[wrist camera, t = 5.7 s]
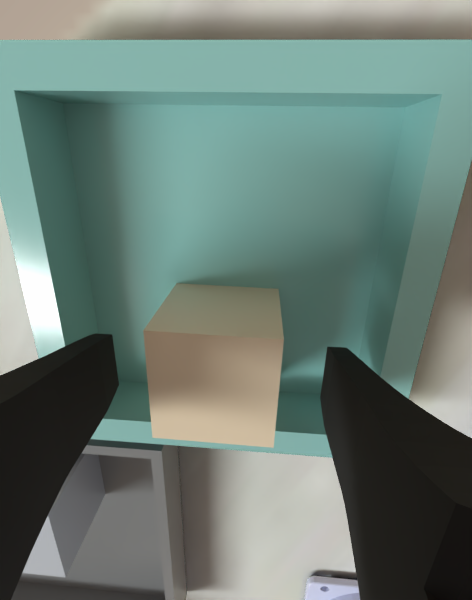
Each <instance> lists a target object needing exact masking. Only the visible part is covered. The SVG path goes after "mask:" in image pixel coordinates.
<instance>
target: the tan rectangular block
mask: <svg viewBox="0 0 472 600" xmlns="http://www.w3.org/2000/svg"><path fill="white" fill-rule="evenodd" d="M143 333H144V345H145V357H146V369H147V380H148V392H149V404H150V415H151V427H152V438H162V439H174V440H186V441H198V442H210V443H223V444H235V445H247V446H259V447H271V448H274V438H275V428H276V417H277V407H278V396H279V386H280V375H281V365H282V354H283V344H284V336H283V326H282V317H281V307H280V297H279V289H273V288H255V287H237V286H218V285H200V284H182V283H176V285H175V286H174V288H173V289H172V290H171V292H170V293H169V295H168V296H167V298H166V299H165V300H164V302H163V303H162V305H161V306H160V307H159V309H158V310H157V312H156V313H155V315H154V316H153V317H152V319H151V320H150V322H149V323H148V324H147V326H146V327H145V329H144V330H143Z"/></svg>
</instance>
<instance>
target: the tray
mask: <svg viewBox="0 0 472 600" xmlns="http://www.w3.org/2000/svg"><path fill="white" fill-rule="evenodd" d="M82 454H94V455H98V456H99V461H100V467H101V472H102V478H103V483H104V489H105V496H104V498H103V500H102V502H101V504H100V506H99V509H98V511H97V513H96V515H95V517H94V519H93V521H92V523H91V525H90V528H89V530H88V532H87V534H86V536H85V538H84V540H83V542H82V544H81V546H80V549H79V551H78V553H77V555H76V557H75V559H74V561H73V563H72V565H71V568H70V570H69V572H68V574H67V576H66V577H56V576H47V575H37V574H27V573H22V575H21V577H20V579H19V582H18V584H17V587H16V589H15V591H14V594H13V596H12V599H11V600H186V595H187V586H186V569H185V553H184V536H183V520H182V503H181V487H180V470H179V454H178V446H175V445H162V444H149V443H136V442H123V441H110V440H97V439H90V440H89V442H88V444H87V445H86V447H85V448H84V450H83V452H82Z"/></svg>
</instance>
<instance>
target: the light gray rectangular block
mask: <svg viewBox="0 0 472 600" xmlns="http://www.w3.org/2000/svg"><path fill="white" fill-rule="evenodd" d="M104 496H105V489H104V483H103V478H102V472H101V467H100V461H99V456H98V455H94V454H82V453H81V455H80V456H79V458H78V460H77V461H76V463H75V464H74V466H73V468H72V469H71V471H70V473H69V475H68V476H67V478H66V480H65V482H64V484H63V486H62V488H61V490H60V492H59V494H58V496H57V498H56V500H55V502H54V504H53V506H52V508H51V510H50V512H49V514H48V516H47V519H46V521H45V523H44V525H43V527H42V529H41V532H40V534H39V536H38V538H37V540H36V542H35V545H34V547H33V549H32V551H31V554H30V556H29V558H28V561H27V563H26V565H25V568H24V570H23V572H22V573H27V574H37V575H47V576H56V577H66V576H67V574H68V572H69V570H70V568H71V565H72V563H73V561H74V559H75V557H76V555H77V553H78V551H79V549H80V546H81V544H82V542H83V540H84V538H85V536H86V534H87V532H88V530H89V528H90V525H91V523H92V521H93V519H94V517H95V515H96V513H97V511H98V509H99V506H100V504H101V502H102V500H103V498H104Z"/></svg>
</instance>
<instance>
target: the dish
mask: <svg viewBox="0 0 472 600" xmlns="http://www.w3.org/2000/svg"><path fill="white" fill-rule="evenodd" d="M471 161H472V40H0V198H1V202H2V206H3V210H4V215H5V219H6V223H7V227H8V231H9V236H10V240H11V244H12V248H13V252H14V257H15V261H16V265H17V269H18V273H19V278H20V282H21V286H22V290H23V294H24V299H25V303H26V307H27V311H28V315H29V320H30V324H31V328H32V332H33V336H34V341H35V345H36V349H37V353H38V357H39V358H42V357H44V356H46V355H48V354H50V353H52V352H54V351H56V350H58V349H60V348H63V347H65V346H67V345H69V344H71V343H73V342H75V341H77V340H80V339H82V338H84V337H87V336H89V335H92V334H95V333H96V334H112V336H113V344H114V351H115V358H116V366H117V373H118V380H119V386H118V388H117V391H116V393H115V396H114V398H113V400H112V402H111V405H110V407H109V409H108V411H107V413H106V414H105V416H104V418H103V419H102V421H101V423H100V424H99V426H98V427H97V429H96V431H95V432H94V434H93V436H92V437H91V439H97V440H110V441H123V442H136V443H149V444H162V445H175V446H188V447H201V448H214V449H227V450H240V451H253V452H266V453H279V454H292V455H305V456H318V457H332V454H331V450H330V447H329V443H328V439H327V435H326V432H325V428H324V423H323V416H322V409H321V401H320V395H321V388H322V381H323V374H324V367H325V360H326V353H327V347H345V348H348V349H349V350H350V351H351V352H353V353H354V354H355V355H356V356H357V357H358V358H359V359H361V360H362V361H363V362H364V363H365V364H366V365H367V366H368V367H370V368H371V369H372V370H373V371H374V372H375V373H376V374H378V375H379V376H380V377H381V378H382V379H384V380H385V381H386V382H387V383H388V384H390V385H391V386H392V387H393V388H395V389H396V390H397V391H399V392H400V393H401V394H403V395H404V396H405V397H407V398H408V399H409V395H410V391H411V387H412V383H413V380H414V376H415V372H416V368H417V365H418V361H419V357H420V353H421V349H422V346H423V342H424V338H425V334H426V331H427V327H428V323H429V319H430V316H431V312H432V308H433V304H434V300H435V297H436V293H437V289H438V285H439V282H440V278H441V274H442V270H443V266H444V263H445V259H446V255H447V251H448V248H449V244H450V240H451V236H452V233H453V229H454V225H455V221H456V217H457V214H458V210H459V206H460V202H461V199H462V195H463V191H464V187H465V183H466V180H467V176H468V172H469V168H470V165H471ZM176 283H182V284H200V285H218V286H237V287H255V288H273V289H279V297H280V307H281V317H282V326H283V336H284V344H283V354H282V365H281V375H280V386H279V396H278V407H277V417H276V428H275V438H274V448H271V447H259V446H247V445H235V444H223V443H210V442H198V441H186V440H174V439H162V438H152V427H151V415H150V404H149V392H148V380H147V369H146V357H145V345H144V333H143V330H144V329H145V327H146V326H147V324H148V323H149V322H150V320H151V319H152V317H153V316H154V315H155V313H156V312H157V310H158V309H159V307H160V306H161V305H162V303H163V302H164V300H165V299H166V298H167V296H168V295H169V293H170V292H171V290H172V289H173V288H174V286H175V285H176ZM332 458H333V457H332Z"/></svg>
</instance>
